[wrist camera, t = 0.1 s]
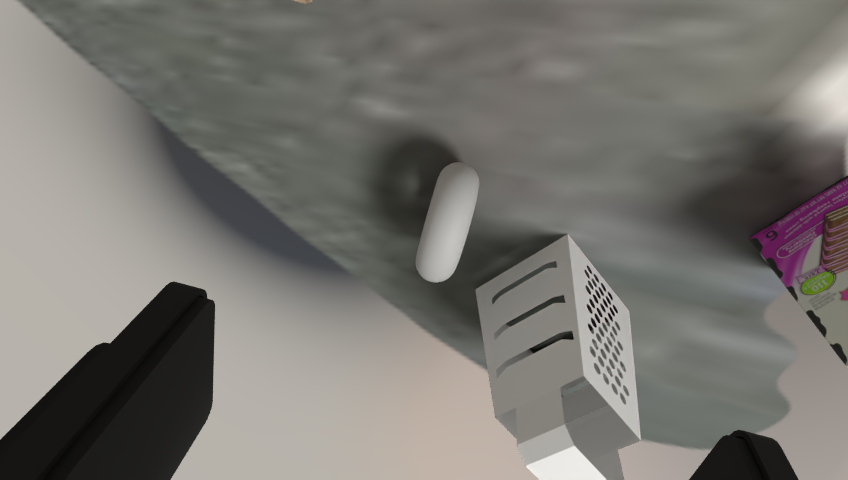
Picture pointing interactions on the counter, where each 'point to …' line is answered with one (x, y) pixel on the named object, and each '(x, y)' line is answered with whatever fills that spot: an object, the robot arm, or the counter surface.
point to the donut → (447, 222)
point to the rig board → (303, 1)
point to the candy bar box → (814, 260)
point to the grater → (560, 367)
